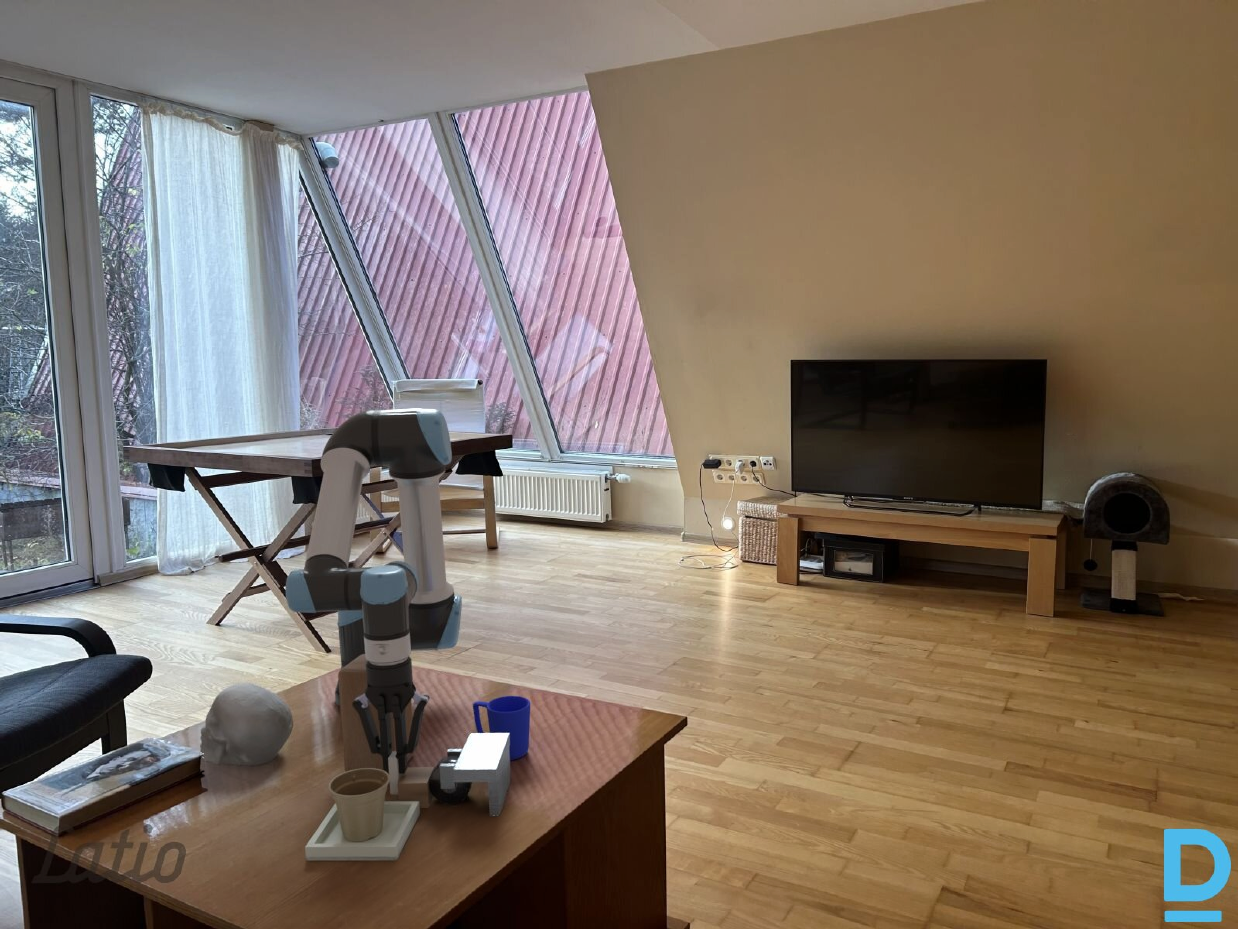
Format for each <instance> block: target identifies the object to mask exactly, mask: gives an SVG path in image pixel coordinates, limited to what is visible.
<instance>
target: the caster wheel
mask: <svg viewBox="0 0 1238 929" xmlns="http://www.w3.org/2000/svg"><path fill="white" fill-rule="evenodd" d="M509 746H510V733H490V732H484V733H478V732H472V733H471V732H470V734H469V735H468V738H467V739H466V742H465V744H464V746H463V748H448V749H447V751H446V754H447V755H446V756H444V757H442V758H441V759H440V760H438V762H437V763H436V766H434V771H433V773H432V775H431V777H430V781H429V788H430V791H431V793H432V795H433V798H434V799H435V800H436V801H438V802H440V803H442V804H444V805H451V806H452V805H457V804H459V803H461V802H463V801H464V800H465V799H466V798H467V797H468V795H469V793H470V792H471V789H472V786H473V784H474V783H487V784H488V785H487V786H488V787H487V788H488V805H489V806H488V808H489V809H488V810H489V816H490V815H491V816H490V817H500V816H501V813H500V812H502V810H503V807H504V803H505V800H506V798H507V795H508V792H507V790H508V791H509V789H508V788H510V786H511V785H510V784H511V783H510V782H512V781H511V780H512V778H511V760H510V755H509ZM509 785H510V786H509ZM506 794H507V795H506ZM505 797H506V798H505ZM501 809H502V810H501ZM493 815H495V816H493ZM497 815H498V816H497ZM499 815H500V816H499Z"/></svg>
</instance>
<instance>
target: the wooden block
mask: <svg viewBox="0 0 1238 929" xmlns="http://www.w3.org/2000/svg"><path fill="white" fill-rule="evenodd" d="M367 661H368V660H367V659H366V657H365V654H362V655H360V656H359V657H357V658H356V659H355V660H353V661H352V662H350V663H349V664H348V665H346V666H345V667H343V668H342V669H341V668H340V669H339V670H338V674H337V676H338V677H337V678H338V679H337V682H338V681H339V695H340V707H339V710H340V718H341V720H340V721H341V733H342V735H341V736H342V747H343V749H342V750H343V751H342V752H343V762H344V772H347V771H350V770H354V769H360V768H376V769H381V770H383V758H382V756H381V755H380V754H377V753H376V754H373V753H371V750H370V747H369V744H368V741H367V738H366V735H365V732H364V728H363V725H362V722H361V719H360V716H359V714H358V712H357V711H356V710H355V708H354V707H353V705H352V703H353V702H354V700H355V699H356V698H357V697H358V696H362V695H363V694H365V690H366V688H367V675H366V663H367ZM412 704H413V703H412V700H411V701H410V702H409V704H408V705H407V707H406V711H405V721H406V737H407V744H408V740H409V735H410V730H411V725H412V719H413V707H412V706H413V705H412ZM369 706H370V709H371V712H372V715H373V718H374V721H375V724H376V728H377V731H378V734H379V737H380V724H379V719H378V710H377V709H376V708H375V707H374V706H373V705H372V703H371V702H370V701H369ZM390 719H391V735H392V747H393V749H392V751H396V739H395V724H394V719H393V713H390ZM414 754H415V751H414V752H413V753H408V754H407V763H408V762H409V761H410V760H411V759H412V758H413V756H414Z"/></svg>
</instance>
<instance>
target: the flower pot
mask: <svg viewBox="0 0 1238 929" xmlns="http://www.w3.org/2000/svg"><path fill="white" fill-rule="evenodd" d="M388 785H390V776H389V774H388V773H387V772H386V771H384V770H381V769H376V768H360V769H354V770H350V771H347V772H346V771H344V772H341V773H340V774H337V775H336V776H334V777H333V778H332V779H331V780H330V782H329V783H328V791H329V793H330V794H331V796H332V798H333V800H334V802H335V803H336V807H337V812H338V816H339V820H340V825H341V830H342V835H343V836H344V837H345V838H346V839H347V840H349V841H366V840H368V839H369V838H371V837H376V836H377V835H379V834H380V833H381V831H382V829H383V814H384V803H385V801H386V792H387V790H388ZM335 803H334V804H335Z"/></svg>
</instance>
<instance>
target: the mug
mask: <svg viewBox="0 0 1238 929" xmlns="http://www.w3.org/2000/svg"><path fill="white" fill-rule="evenodd" d="M480 707H482V708H485V709H486V713H487V721H488V728H489V733H510V746H509V755H510V761H511V760H512V761H514V760H517V759H520V758H523V757H524V756H525V755H526V754H528V751H529V746H530V727H531V726H530V724H531V722H530V720H531V701H530V700H529V698H526V697H523V696H520V695H519V696H518V695H507V696H506V695H505V696H500V697H497V698H493V699H491V700H490V701H489V702H487V701H480V700H479V701H474V702H473V704H472V711H473V716H474V717H473V718H474V724H475V728H476V733H485V732H484V729H483V726H482V722H481V714H480Z"/></svg>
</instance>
